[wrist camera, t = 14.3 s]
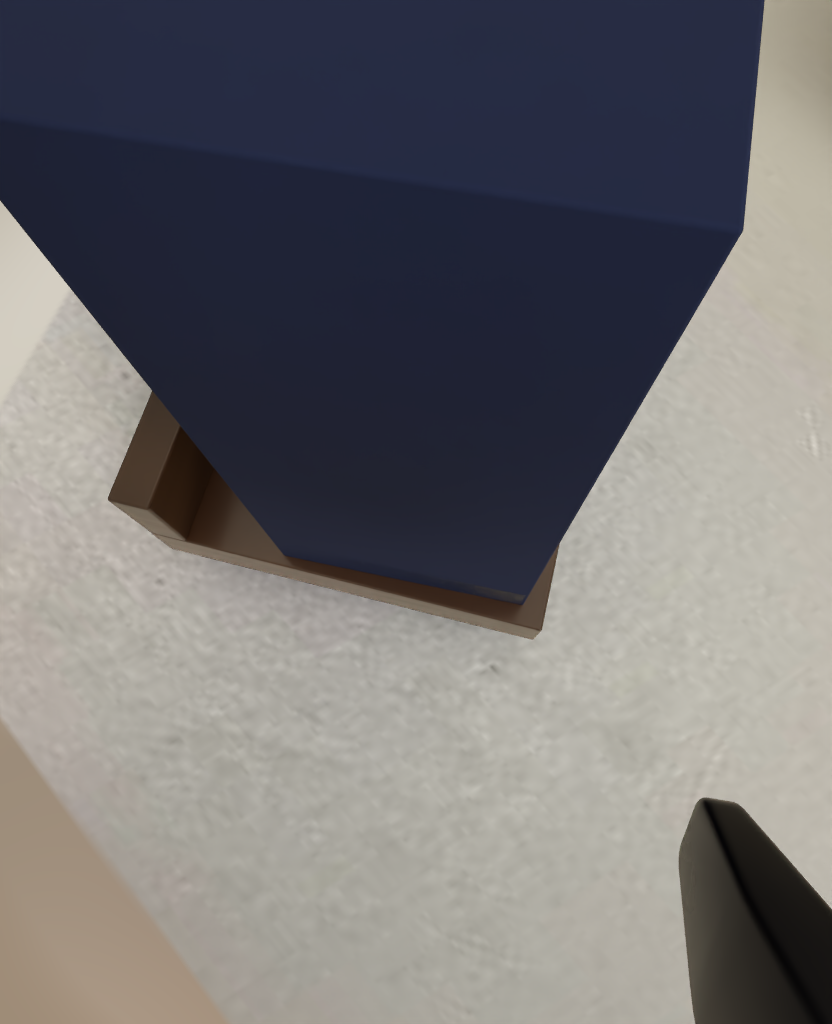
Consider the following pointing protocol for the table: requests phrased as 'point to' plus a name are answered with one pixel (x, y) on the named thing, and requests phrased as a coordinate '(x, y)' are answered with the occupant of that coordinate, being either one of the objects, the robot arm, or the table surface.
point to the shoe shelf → (242, 541)
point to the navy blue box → (388, 242)
